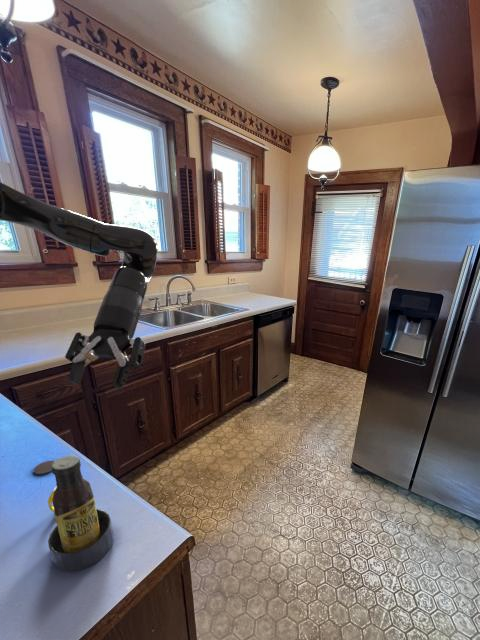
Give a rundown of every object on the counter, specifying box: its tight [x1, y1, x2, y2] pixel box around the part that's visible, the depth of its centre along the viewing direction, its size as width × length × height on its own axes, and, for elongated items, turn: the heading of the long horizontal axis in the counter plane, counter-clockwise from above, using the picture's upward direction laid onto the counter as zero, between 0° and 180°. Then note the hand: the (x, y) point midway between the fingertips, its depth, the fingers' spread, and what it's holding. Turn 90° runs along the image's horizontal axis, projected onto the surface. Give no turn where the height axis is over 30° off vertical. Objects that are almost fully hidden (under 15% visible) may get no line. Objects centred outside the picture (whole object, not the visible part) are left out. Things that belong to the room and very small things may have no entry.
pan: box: [47, 508, 115, 573], centre depth 60 cm, size 10×10×4 cm
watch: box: [47, 485, 57, 513], centre depth 68 cm, size 6×3×6 cm, turn 138°
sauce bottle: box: [51, 454, 101, 553], centre depth 57 cm, size 6×6×20 cm
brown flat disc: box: [33, 460, 55, 476], centre depth 80 cm, size 5×5×1 cm
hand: (95, 385), depth 60 cm, fingers open, 8 cm apart
